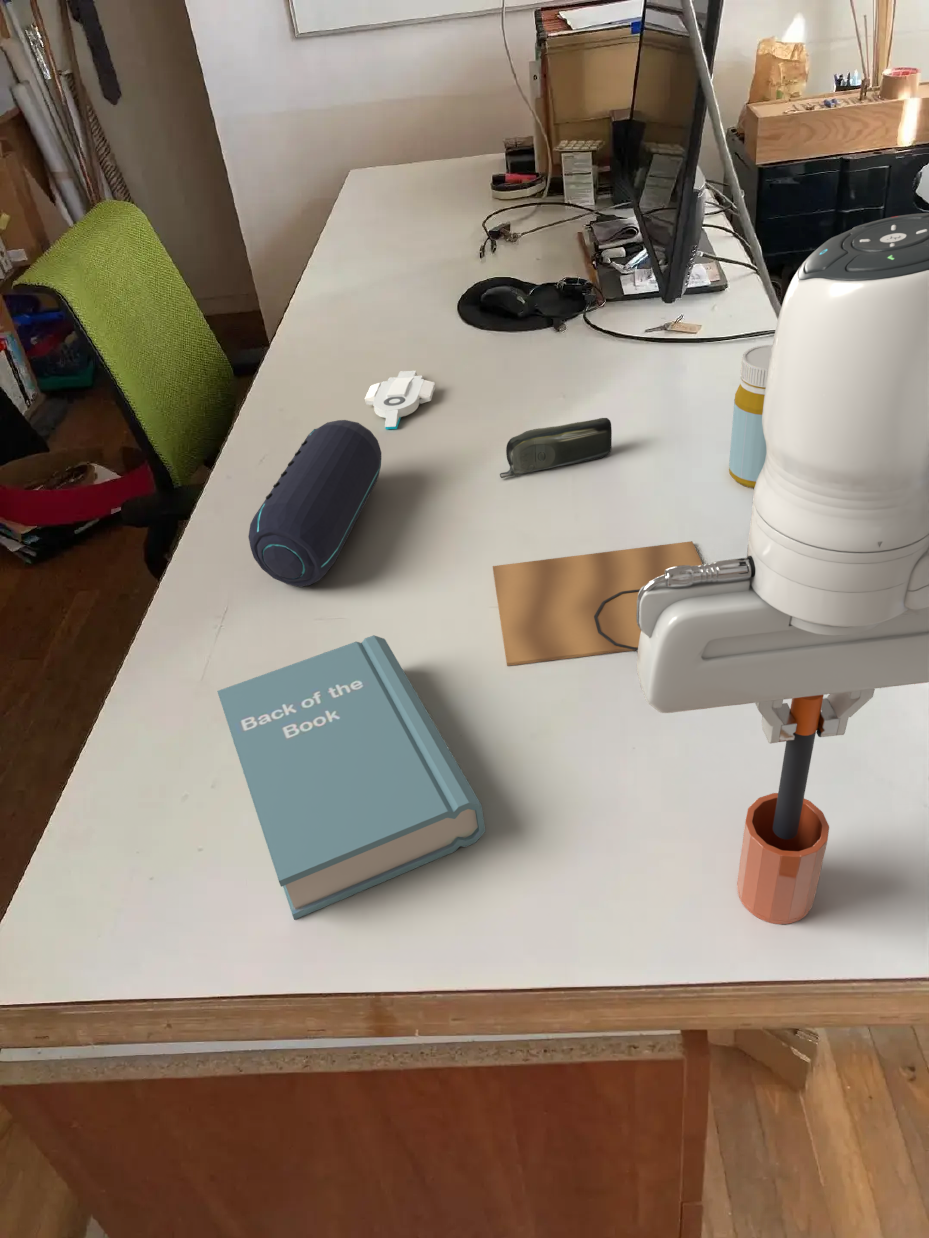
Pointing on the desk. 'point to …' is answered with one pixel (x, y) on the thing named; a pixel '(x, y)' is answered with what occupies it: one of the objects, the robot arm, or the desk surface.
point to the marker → (796, 766)
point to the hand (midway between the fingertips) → (802, 731)
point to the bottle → (749, 418)
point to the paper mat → (579, 601)
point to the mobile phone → (558, 446)
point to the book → (347, 773)
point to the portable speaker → (315, 503)
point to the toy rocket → (399, 396)
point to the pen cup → (780, 863)
